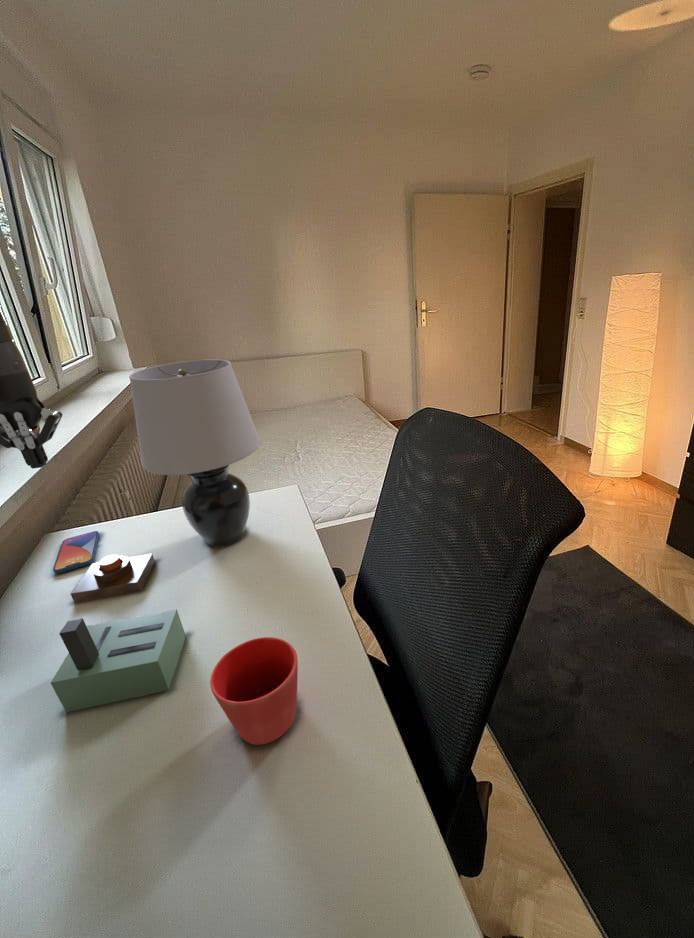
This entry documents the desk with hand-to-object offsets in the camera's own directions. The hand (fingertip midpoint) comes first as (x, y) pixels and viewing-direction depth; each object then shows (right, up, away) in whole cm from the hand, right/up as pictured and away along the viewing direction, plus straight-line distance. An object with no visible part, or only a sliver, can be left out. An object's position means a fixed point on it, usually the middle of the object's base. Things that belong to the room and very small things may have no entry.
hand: (39, 466), depth 80 cm
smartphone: (-9, -20, +22) cm, 31 cm away
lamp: (+24, -17, +25) cm, 39 cm away
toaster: (+23, -32, -10) cm, 41 cm away
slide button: (+20, -28, -16) cm, 38 cm away
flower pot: (+47, -35, -19) cm, 62 cm away
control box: (+7, -24, +12) cm, 27 cm away
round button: (+6, -21, +10) cm, 24 cm away
